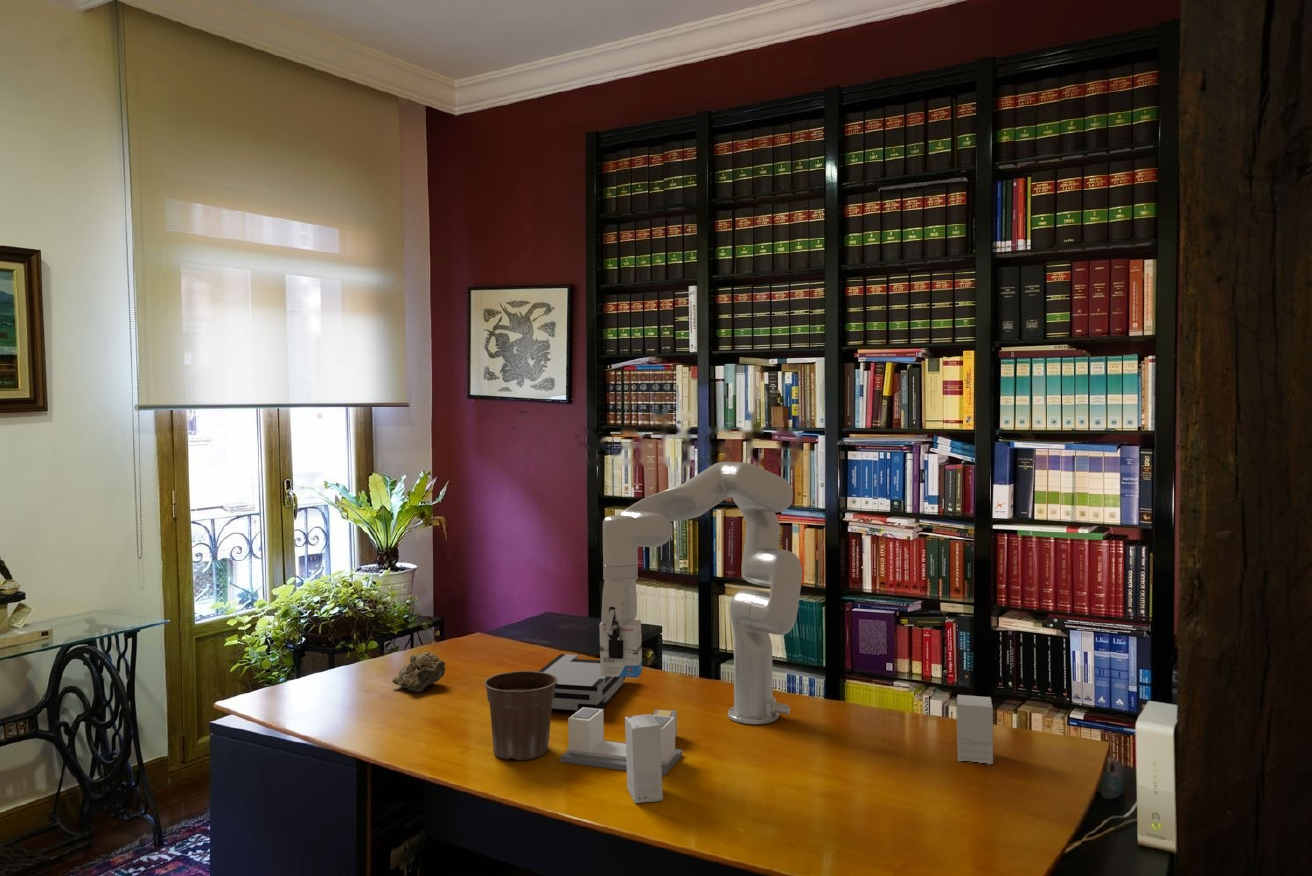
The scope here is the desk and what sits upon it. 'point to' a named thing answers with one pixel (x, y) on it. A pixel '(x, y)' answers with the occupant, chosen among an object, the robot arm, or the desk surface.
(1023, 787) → the desk surface
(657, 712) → the block
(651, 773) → the skincare box
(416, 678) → the mineral specimen
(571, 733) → the white u-shaped stand
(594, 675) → the game console
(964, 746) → the supplement box
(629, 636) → the ink box
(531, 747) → the plant pot
